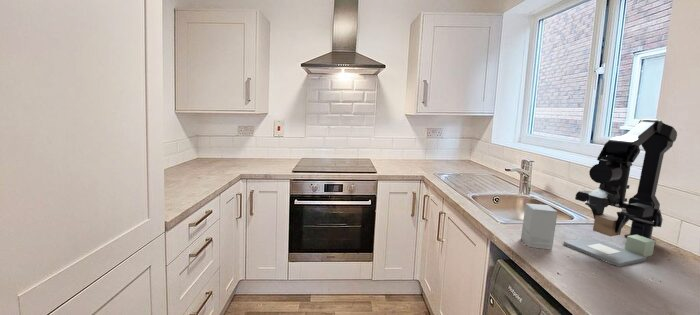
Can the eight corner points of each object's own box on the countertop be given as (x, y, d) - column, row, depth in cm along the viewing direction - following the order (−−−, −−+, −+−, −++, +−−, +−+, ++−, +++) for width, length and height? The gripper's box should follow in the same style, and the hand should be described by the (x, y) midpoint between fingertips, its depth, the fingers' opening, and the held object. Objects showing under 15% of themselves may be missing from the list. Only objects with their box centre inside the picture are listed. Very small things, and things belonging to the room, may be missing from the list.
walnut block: (602, 228, 105) (605, 214, 104) (620, 234, 101) (623, 219, 100) (592, 230, 103) (595, 215, 102) (610, 236, 99) (613, 220, 98)
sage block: (633, 249, 107) (636, 234, 106) (652, 255, 102) (655, 240, 101) (624, 250, 105) (627, 236, 104) (643, 257, 100) (646, 242, 99)
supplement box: (552, 250, 102) (558, 211, 101) (527, 247, 104) (532, 209, 102) (543, 241, 110) (549, 204, 108) (520, 238, 111) (525, 202, 109)
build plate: (590, 239, 113) (590, 236, 113) (646, 260, 98) (646, 256, 98) (563, 244, 108) (563, 241, 107) (618, 267, 93) (618, 263, 93)
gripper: (567, 175, 105) (560, 221, 107) (636, 190, 88) (625, 244, 90) (589, 174, 109) (582, 218, 111) (659, 187, 92) (648, 240, 94)
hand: (607, 229), depth 102 cm, fingers closed on walnut block, 5 cm apart
